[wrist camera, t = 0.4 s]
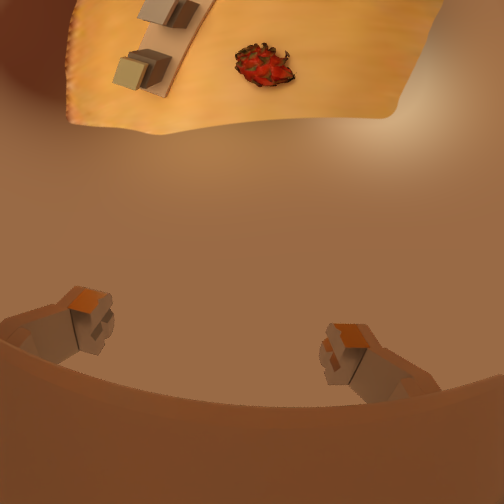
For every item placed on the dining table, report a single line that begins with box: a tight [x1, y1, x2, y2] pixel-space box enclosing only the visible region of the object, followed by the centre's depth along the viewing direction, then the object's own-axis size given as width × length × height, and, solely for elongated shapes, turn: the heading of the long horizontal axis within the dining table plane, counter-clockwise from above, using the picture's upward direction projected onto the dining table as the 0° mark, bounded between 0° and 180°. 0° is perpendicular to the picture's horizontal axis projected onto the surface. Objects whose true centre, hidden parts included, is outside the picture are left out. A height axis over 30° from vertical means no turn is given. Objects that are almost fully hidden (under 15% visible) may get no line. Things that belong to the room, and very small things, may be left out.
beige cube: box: [137, 0, 179, 25], centre depth 28 cm, size 5×5×5 cm
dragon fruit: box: [235, 43, 297, 87], centre depth 42 cm, size 8×8×12 cm
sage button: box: [112, 57, 148, 90], centre depth 36 cm, size 5×5×5 cm
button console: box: [128, 0, 215, 98], centre depth 32 cm, size 38×10×10 cm, turn 152°
